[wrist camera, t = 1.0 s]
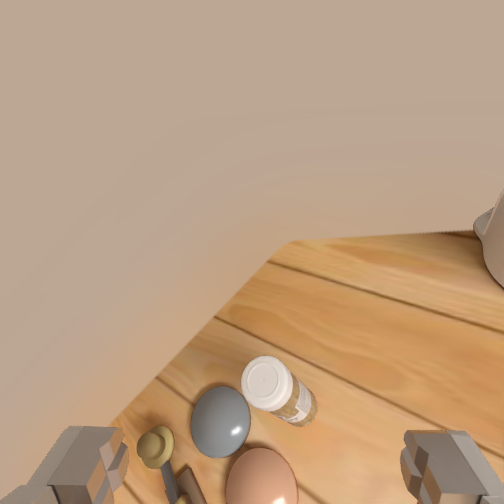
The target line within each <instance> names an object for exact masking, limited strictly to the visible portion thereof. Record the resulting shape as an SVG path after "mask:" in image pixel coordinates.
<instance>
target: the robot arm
mask: <svg viewBox="0 0 504 504" xmlns="http://www.w3.org/2000/svg"><path fill="white" fill-rule="evenodd" d="M473 229H474V231H475V233H476V234H477V236H478V237H479V239H480V240H481V241H482V244H483V255H484V260H485V263H486V266H487V268H488V270H489V271H490V273H491V274H492V276H493V277H494V278H495V279H496V281H497V282H498V283H499V284H500V285H502V286H503V287H504V190H503V191H502V193H501V195H500V197H499V199H498V201H497V203H496V205H495V207H494V208H492V209H490V210H489V211H488V212H486V213H485V214H483V215H481V216H480V217H478V218H477V219H476V221H475V223H474V225H473ZM123 438H124V432H123V429H122V428H115V427H91V426H69V427H68V428H67V429H65V430H64V432H63V433H62V434H61V436H60V437H59V438H58V440H57V441H56V443H55V444H54V446H53V447H52V448H51V450H50V451H49V453H48V454H47V456H46V457H45V459H44V460H43V461H42V463H41V464H40V466H39V467H38V469H37V470H36V472H35V473H34V474H33V476H32V477H31V479H30V480H29V482H28V483H27V485H21V486H19V487H18V488H17V489H15V490H14V491H12V492H11V493H10V494H8V495H7V496H6V497H4V498H3V499H2V500H0V504H114V497H113V492H114V491H115V490H116V489H117V488H119V487H120V486H121V485H122V483H123V480H124V478H125V475H126V472H127V468H128V463H129V451H128V447H127V446H126V445H125V444H124V443H123V442H122V440H123ZM404 442H405V444H406V446H407V447H405V448H404V449H403V450H402V451H401V457H400V464H401V471H402V475H403V479H404V482H405V484H406V487H407V489H408V491H409V492H410V493H411V494H412V495H413V496H414V497H415V498H416V499H417V500H418V502H417V504H504V484H503V483H502V481H501V480H500V478H499V477H498V475H497V474H496V472H495V471H494V470H493V468H492V467H491V465H490V464H489V462H488V461H487V459H486V458H485V457H484V455H483V454H482V452H481V451H480V449H479V448H478V446H477V445H476V444H475V442H474V441H473V439H472V438H471V436H470V435H469V434H468V433H467V432H465V431H443V430H407V431H406V432H405V435H404Z"/></svg>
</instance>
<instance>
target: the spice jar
mask: <svg viewBox="0 0 504 504" xmlns="http://www.w3.org/2000/svg"><path fill="white" fill-rule="evenodd" d="M241 390H242V393H243V395H244V397H245V399H246V400H247V401H248V403H250V404H251V405H252V406H254V407H255V408H257V409H260V410H262V411H269V412H270V413H272V414H273V415H275V416H277V417H279V418H281V419H283V420H285V421H287V422H288V423H290V424H292V425H293V426H298V427H302V426H306V425H308V424H309V423H311V422H312V420H313V419H314V418H315V416H316V413H317V401H316V398H315V396H314V395H313V393H312V392H311V391H310V390H309V389H308V388H306V387H305V386H304V385H303V384H302V383H301V382H300V381H299V380H298V379H297V378H296V377H295V376H294V375H293V374H292V373H290V371H289V370H288V368H287V367H286V366H285V365H284V364H283V363H282V362H281V361H280V360H278V359H277V358H275V357H273V356H268V355H264V356H259V357H256V358H254V359H253V360H252V361H250V362H249V363H248V364H247V366H246V367H245V369H244V371H243V373H242V377H241Z"/></svg>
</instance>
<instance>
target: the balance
mask: <svg viewBox="0 0 504 504" xmlns="http://www.w3.org/2000/svg"><path fill="white" fill-rule="evenodd" d="M173 450H174V436H173V433H172V431H171V430H170V429H169V428H168V427H165V426H157V427H154V428H153V429H151V430H150V431H149V432H148V433H145V434H143V435H142V436H141V437H140V439H139V441H138V443H137V454H138V456H139V457H141V458H142V460H143V463H144V464H145V465H146V466H147V467H148V468H151V469H158V468H161V471H162V475H163V479H164V482H165V486H166V490H165V492H166V495H167V497H168V500H169V503H170V504H207V502H206V500H205V498H204V496H203V494H202V491H201V489H200V487H199V485H198V482H197V480H196V478H195V476H194V473H193V471H192V469H191V468H187V469H186V470H185V471H184V472H183V473H182V474H181V475H180V476H179V477H178V478H177V479H176V480H175V478H174V474H173V471H172V467H171V464H170V461H169V459H170V458H171V456H172V453H173Z"/></svg>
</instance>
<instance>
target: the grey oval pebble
mask: <svg viewBox="0 0 504 504" xmlns="http://www.w3.org/2000/svg"><path fill="white" fill-rule="evenodd" d="M250 425H251V414H250V409H249V406H248V403H247V401H246V400H245V398H244V397H243V396H242V395H241V394H240V393H239V392H238V391H236V390H234V389H232V388H230V387H225V386H219V387H215V388H213V389H210V390H209V391H207V392H206V393H205V394H204V395H203V396H202V397H201V398H200V399H199V401H198V402H197V404H196V406H195V408H194V411H193V414H192V418H191V434H192V438H193V441H194V443H195V445H196V447H197V448H198V450H199V451H200V452H201V453H203V454H204V455H206V456H208V457H212V458H226V457H229V456H231V455H233V454H234V453H236V452H237V451H238V450H239V449H240V448H241V447H242V445H243V444H244V442H245V441H246V439H247V436H248V434H249V430H250Z"/></svg>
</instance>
